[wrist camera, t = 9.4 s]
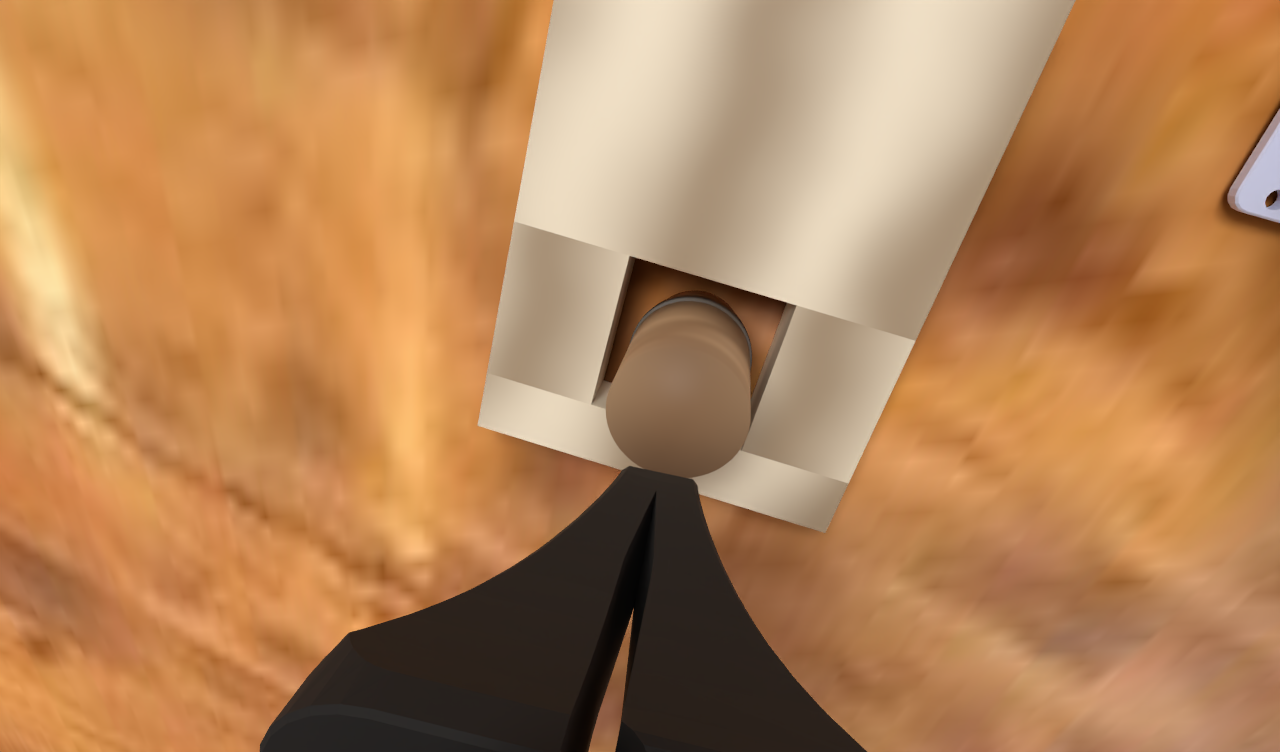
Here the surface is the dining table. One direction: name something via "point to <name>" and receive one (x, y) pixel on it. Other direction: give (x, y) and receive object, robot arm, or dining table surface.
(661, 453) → the peg
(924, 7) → the board
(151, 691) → the dining table surface
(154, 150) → the dining table surface
